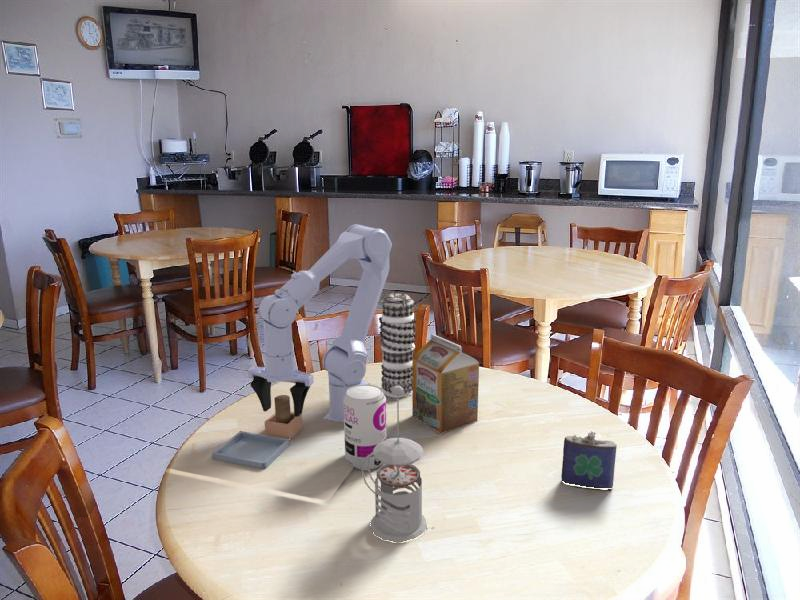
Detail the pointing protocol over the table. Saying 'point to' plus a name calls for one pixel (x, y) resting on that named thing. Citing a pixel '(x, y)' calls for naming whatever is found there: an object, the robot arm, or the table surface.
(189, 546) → the table surface
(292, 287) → the robot arm
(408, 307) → the decorative candle
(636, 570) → the table surface
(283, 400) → the dowel
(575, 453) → the flask
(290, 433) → the hollow square block
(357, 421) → the supplement can
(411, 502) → the french press
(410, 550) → the table surface
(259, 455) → the tray
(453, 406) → the milk carton
